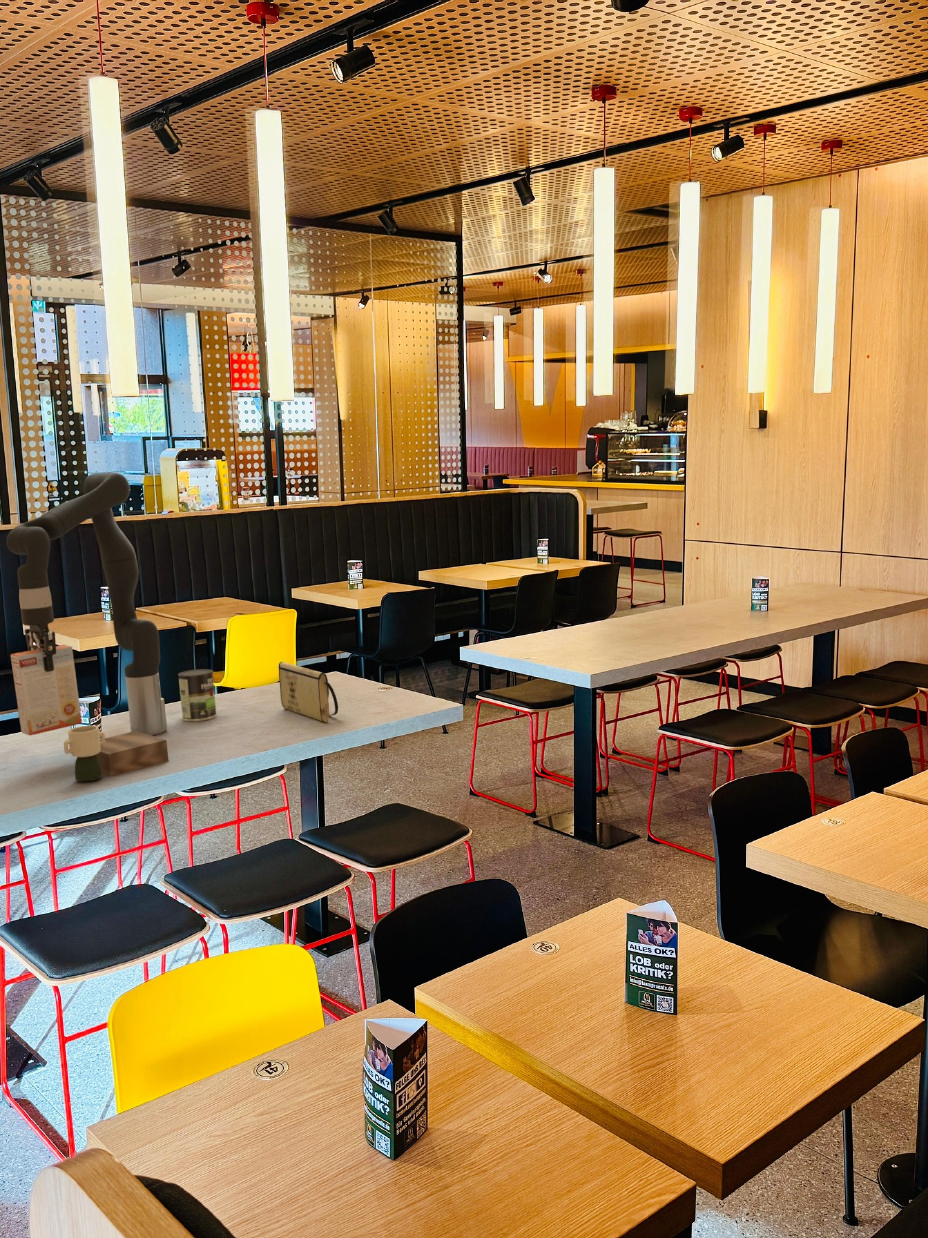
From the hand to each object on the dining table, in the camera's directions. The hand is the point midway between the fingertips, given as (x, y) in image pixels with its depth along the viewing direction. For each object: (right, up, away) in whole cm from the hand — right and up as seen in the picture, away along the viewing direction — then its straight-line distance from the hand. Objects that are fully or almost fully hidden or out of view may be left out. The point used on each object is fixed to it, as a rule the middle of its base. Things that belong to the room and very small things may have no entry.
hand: (44, 669), depth 266 cm
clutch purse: (+62, -16, +47) cm, 79 cm away
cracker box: (+1, -16, +2) cm, 16 cm away
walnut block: (+20, -25, +3) cm, 32 cm away
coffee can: (+27, -17, +50) cm, 59 cm away
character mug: (+15, -27, -10) cm, 33 cm away
